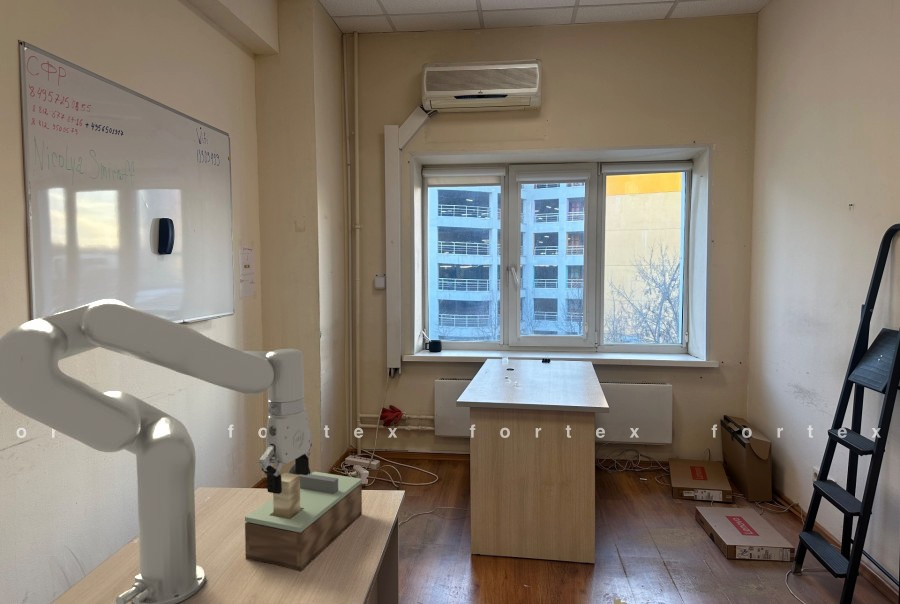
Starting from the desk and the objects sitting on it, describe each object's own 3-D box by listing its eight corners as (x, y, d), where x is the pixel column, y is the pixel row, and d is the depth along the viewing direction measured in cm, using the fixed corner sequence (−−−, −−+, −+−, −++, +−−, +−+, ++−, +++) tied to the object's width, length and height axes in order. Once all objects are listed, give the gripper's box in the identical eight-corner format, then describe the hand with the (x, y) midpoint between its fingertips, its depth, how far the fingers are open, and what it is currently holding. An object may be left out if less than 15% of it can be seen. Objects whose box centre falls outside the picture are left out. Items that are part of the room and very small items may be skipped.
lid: (300, 532, 103) (300, 513, 103) (244, 521, 107) (244, 503, 107) (361, 482, 127) (361, 467, 127) (314, 475, 132) (314, 460, 132)
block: (289, 536, 107) (288, 482, 107) (273, 533, 109) (273, 479, 108) (300, 527, 111) (299, 475, 111) (285, 524, 113) (284, 472, 112)
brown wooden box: (301, 571, 103) (300, 534, 103) (245, 558, 108) (245, 522, 107) (361, 514, 128) (361, 483, 127) (314, 505, 132) (314, 476, 132)
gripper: (275, 419, 99) (278, 503, 100) (323, 397, 115) (325, 469, 117) (244, 416, 101) (247, 498, 103) (296, 395, 118) (298, 466, 119)
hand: (289, 482), depth 110 cm, fingers open, 9 cm apart
